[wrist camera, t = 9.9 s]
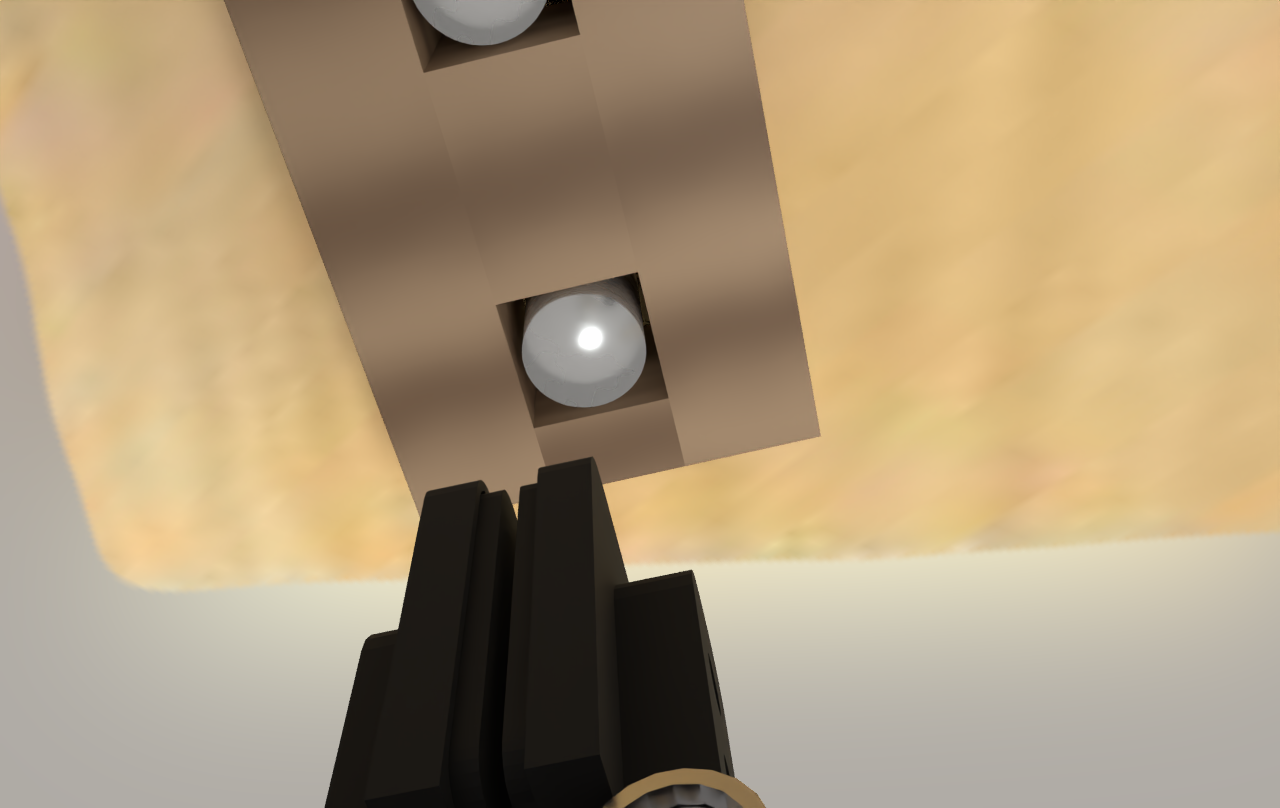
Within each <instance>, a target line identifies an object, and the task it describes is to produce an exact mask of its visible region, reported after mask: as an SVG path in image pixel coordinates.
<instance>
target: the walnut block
mask: <svg viewBox="0 0 1280 808" xmlns="http://www.w3.org/2000/svg"><path fill="white" fill-rule="evenodd" d="M224 2H225V4H226V7H227V10H228V12H229V15H230V17H231V20H232V23H233V25H234V28H235V31H236V33H237V36H238V39H239V41H240V44H241V46H242V49H243V52H244V54H245V57H246V60H247V62H248V65H249V68H250V70H251V73H252V75H253V78H254V81H255V83H256V86H257V89H258V91H259V94H260V97H261V99H262V102H263V104H264V107H265V110H266V112H267V115H268V118H269V120H270V123H271V125H272V128H273V131H274V133H275V136H276V139H277V141H278V144H279V147H280V149H281V152H282V154H283V157H284V160H285V162H286V165H287V168H288V170H289V173H290V176H291V178H292V181H293V183H294V186H295V189H296V191H297V194H298V197H299V199H300V202H301V205H302V207H303V210H304V212H305V215H306V218H307V220H308V223H309V226H310V228H311V231H312V234H313V236H314V239H315V241H316V244H317V247H318V249H319V252H320V255H321V257H322V260H323V263H324V265H325V268H326V270H327V273H328V276H329V278H330V281H331V284H332V286H333V289H334V292H335V294H336V297H337V299H338V302H339V305H340V307H341V310H342V313H343V315H344V318H345V321H346V323H347V326H348V328H349V331H350V334H351V336H352V339H353V342H354V344H355V347H356V350H357V352H358V355H359V357H360V360H361V363H362V365H363V368H364V371H365V373H366V376H367V379H368V381H369V384H370V386H371V389H372V392H373V394H374V397H375V400H376V402H377V405H378V408H379V410H380V413H381V415H382V418H383V421H384V423H385V426H386V429H387V431H388V434H389V437H390V439H391V442H392V444H393V447H394V450H395V452H396V455H397V458H398V460H399V463H400V466H401V468H402V471H403V473H404V476H405V479H406V481H407V484H408V487H409V489H410V492H411V495H412V497H413V500H414V502H415V505H416V508H417V510H418V513H419V516H420V517H421V512H422V507H423V502H424V497H425V494H426V492H427V491H430V490H435V489H439V488H444V487H449V486H454V485H458V484H463V483H468V482H473V481H478V480H482V481H483V482H484V483H485V484H486V486H487V488H488V490H489V493H491V492H495V491H500V490H506V491H507V493H508V495H509V497H510V499H511V502H512V504H515V503H519V492H520V487H521V486H524V485H529V484H534V483H537V474H538V469H539V468H540V467H545V466H549V465H554V464H559V463H564V462H568V461H573V460H578V459H583V458H588V457H592V456H593V458H594V459H595V462H596V465H597V467H598V471H599V474H600V478H601V481H602V484H606V483H611V482H615V481H620V480H624V479H629V478H633V477H638V476H642V475H647V474H652V473H656V472H661V471H665V470H670V469H674V468H679V467H683V466H688V465H692V464H697V463H701V462H706V461H711V460H715V459H720V458H724V457H729V456H733V455H738V454H742V453H747V452H751V451H756V450H760V449H765V448H769V447H774V446H779V445H783V444H788V443H792V442H797V441H801V440H806V439H810V438H815V437H819V436H821V435H820V429H819V424H818V418H817V412H816V407H815V401H814V395H813V390H812V384H811V379H810V373H809V367H808V362H807V356H806V350H805V345H804V339H803V333H802V328H801V322H800V316H799V311H798V305H797V299H796V294H795V288H794V282H793V277H792V271H791V265H790V260H789V254H788V248H787V243H786V237H785V231H784V226H783V220H782V214H781V209H780V203H779V197H778V192H777V186H776V180H775V175H774V169H773V163H772V158H771V152H770V146H769V141H768V135H767V129H766V124H765V118H764V112H763V107H762V101H761V95H760V90H759V84H758V78H757V73H756V67H755V62H754V56H753V50H752V45H751V39H750V33H749V28H748V22H747V16H746V11H745V5H744V0H571V1H567V2H563V3H559V4H555V5H551V6H547V7H543V9H542V11H541V12H540V14H539V16H538V17H537V19H536V20H535V21H534V22H533V23H532V24H531V25H530V26H529V27H528V28H527V29H526V30H525V31H524V32H522V33H521V34H519V35H518V36H516V37H514V38H512V39H510V40H508V41H505V42H502V43H499V44H493V45H471V44H466V43H462V42H459V41H457V40H454V39H452V38H450V37H448V36H446V35H444V34H443V33H441V32H440V31H438V30H437V29H436V28H434V27H433V26H432V25H431V24H430V23H429V22H428V21H427V20H426V19H425V17H424V16H423V15H422V14H421V12H420V11H419V9H418V8H417V6H416V4H415V3H414V1H413V0H224ZM636 272H638V274H639V278H640V282H641V287H642V291H643V295H644V299H645V303H646V307H647V311H648V315H649V319H650V323H651V325H648V326H644V327H643V328H644V335H645V343H646V359H645V364H644V368H643V370H642V372H641V375H640V376H639V378H638V380H637V381H636V383H635V384H634V385H633V386H632V387H631V388H630V389H629V390H628V391H627V392H626V393H625V394H624V395H622V396H621V397H619V398H617V399H616V400H614V401H612V402H609V403H607V404H604V405H600V406H595V407H573V406H567V405H564V404H561V403H558V402H556V401H554V400H552V399H550V398H549V397H547V396H546V395H544V394H543V393H542V392H541V391H539V390H538V388H537V387H536V386H535V385H534V384H533V383H532V381H531V380H530V378H529V376H528V375H527V373H526V370H525V367H524V363H523V359H522V344H523V332H524V320H525V305H524V302H523V298H528V297H532V296H536V295H541V294H545V293H549V292H554V291H558V290H562V289H566V288H571V287H575V286H579V285H584V284H588V283H592V282H597V281H601V280H605V279H610V278H614V277H618V276H623V275H627V274H631V273H636Z"/></svg>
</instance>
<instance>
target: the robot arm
mask: <svg viewBox="0 0 1280 808" xmlns="http://www.w3.org/2000/svg"><path fill="white" fill-rule="evenodd" d="M325 808H766V807H765V806H764V804H763V803H762V801H761V799H760V798H759V796H758V795H757V793H755V792H754V791H753V790H751V789H750V788H748V787H747V786H746V785H745V784H743V783H742V782H741V781H739V780H738V779H737V778H735V777H734V770H733V764H732V757H731V751H730V745H729V739H728V733H727V727H726V720H725V714H724V709H723V703H722V698H721V692H720V687H719V682H718V677H717V672H716V667H715V662H714V657H713V652H712V648H711V643H710V639H709V634H708V630H707V626H706V621H705V617H704V613H703V609H702V604H701V600H700V596H699V592H698V588H697V584H696V580H695V576H694V573H693V571H692V570H688V571H683V572H678V573H674V574H669V575H663V576H659V577H654V578H649V579H644V580H639V581H634V582H628V578H627V574H626V570H625V567H624V563H623V559H622V556H621V552H620V548H619V544H618V541H617V537H616V533H615V530H614V526H613V522H612V518H611V515H610V511H609V507H608V504H607V500H606V496H605V493H604V489H603V485H602V481H601V478H600V474H599V471H598V467H597V465H596V462H595V459H594V458H593V456H592V457H588V458H583V459H578V460H573V461H568V462H564V463H559V464H554V465H549V466H545V467H540V468H539V469H538V474H537V483H534V484H529V485H524V486H521V487H520V492H519V506H518V520H517V518H516V515H515V511H514V508H513V505H512V502H511V499H510V497H509V495H508V493H507V491H506V490H500V491H495V492H491V493H489V490H488V488H487V486H486V484H485V483H484V482H483V481H482V480H478V481H473V482H468V483H463V484H458V485H454V486H449V487H444V488H439V489H435V490H430V491H427V492H426V494H425V497H424V502H423V507H422V512H421V517H420V522H419V527H418V532H417V537H416V542H415V547H414V552H413V557H412V562H411V567H410V572H409V577H408V582H407V587H406V592H405V597H404V603H403V608H402V613H401V618H400V623H399V628H398V629H397V630H392V631H387V632H383V633H378V634H373V635H371V636H369V637H368V638H367V639H366V640H365V643H364V645H363V648H362V651H361V655H360V659H359V663H358V668H357V672H356V677H355V680H354V685H353V689H352V693H351V697H350V701H349V706H348V710H347V714H346V718H345V723H344V727H343V731H342V736H341V740H340V744H339V748H338V753H337V757H336V762H335V765H334V770H333V774H332V778H331V782H330V787H329V791H328V795H327V799H326V804H325Z"/></svg>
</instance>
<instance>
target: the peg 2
mask: <svg viewBox="0 0 1280 808" xmlns="http://www.w3.org/2000/svg"><path fill="white" fill-rule="evenodd" d="M522 359H523V363H524V367H525V370H526V373H527V375H528V376H529V378H530V380H531V381H532V383H533V384H534V385H535V386H536V387H537V388H538V390H539V391H541V392H542V393H543V394H544V395H546V396H547V397H549V398H550V399H552V400H554V401H556V402H558V403H561V404H564V405H567V406H573V407H595V406H600V405H604V404H607V403H609V402H612V401H614V400H616V399H617V398H619V397H621V396H622V395H624V394H625V393H626V392H627V391H628V390H629V389H630V388H631V387H632V386H633V385H634V384H635V383H636V381H637V380H638V378H639V376H640V375H641V372H642V370H643V368H644V364H645V359H646V343H645V335H644V328H643V320H642V313H641V305H640V297H639V290H638V282H637V276H636V273H631V274H627V275H623V276H618V277H614V278H610V279H605V280H601V281H597V282H592V283H588V284H584V285H579V286H575V287H571V288H566V289H562V290H558V291H554V292H549V293H545V294H541V295H536V296H532V297H528V298H526V308H525V320H524V332H523V344H522Z"/></svg>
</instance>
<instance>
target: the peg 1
mask: <svg viewBox="0 0 1280 808" xmlns="http://www.w3.org/2000/svg"><path fill="white" fill-rule="evenodd" d="M413 1H414V3H415V4H416V6H417V8H418V9H419V11H420V12H421V14H422V15H423V16H424V17H425V19H426V20H427V21H428V22H429V23H430V24H431V25H432V26H433V27H434V28H436V29H437V30H438V31H440V32H441V33H443V34H444V35H446V36H448V37H450V38H452V39H454V40H457V41H459V42H462V43H466V44H471V45H493V44H499V43H502V42H505V41H508V40H510V39H512V38H514V37H516V36H518V35H519V34H521V33H522V32H524V31H525V30H526V29H527V28H528V27H529V26H530V25H531V24H532V23H533V22H534V21H535V20H536V19H537V17H538V16H539V14H540V12H541V11H542V9H543V7H544V5H545V3H546V0H413Z"/></svg>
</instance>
